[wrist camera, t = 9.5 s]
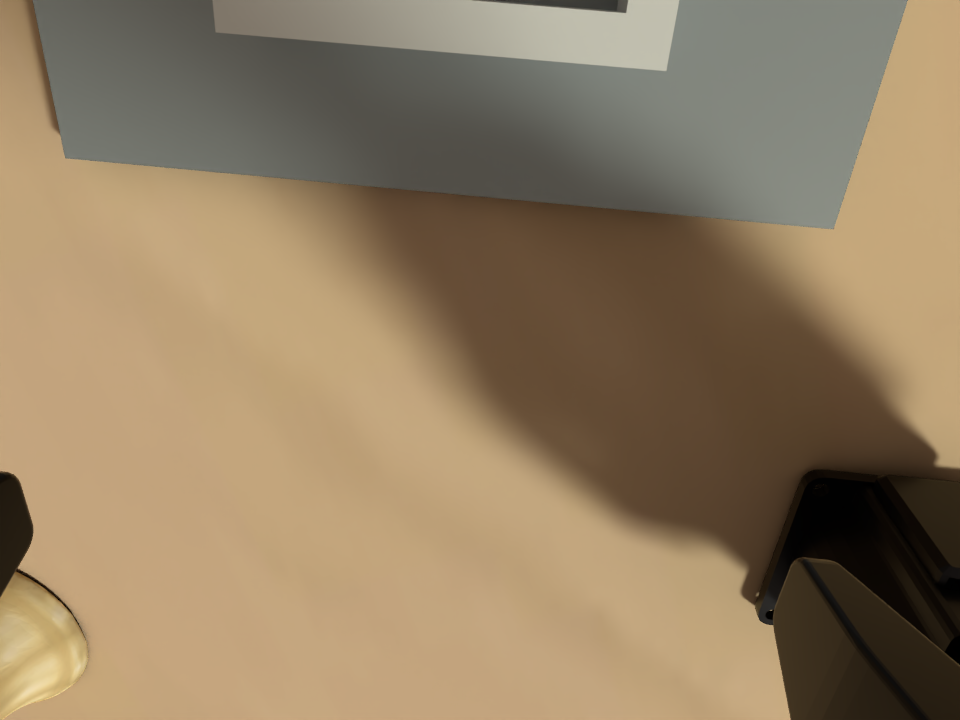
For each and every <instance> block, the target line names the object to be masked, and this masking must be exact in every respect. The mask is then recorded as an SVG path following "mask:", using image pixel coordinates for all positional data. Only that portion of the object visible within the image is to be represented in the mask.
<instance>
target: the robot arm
mask: <svg viewBox="0 0 960 720" xmlns="http://www.w3.org/2000/svg"><path fill="white" fill-rule="evenodd" d="M818 484H824V485H823V486H822V487H820V488H817V489H813V488H814V487H815V486H816V485H818ZM32 537H33V523H32V520H31V517H30V513H29V510H28V507H27V503H26V500H25V497H24V494H23V490H22V487H21V484H20V481H19V480H18V478H17V477H16V476H15V475H14V474H11V473H9V472H2V471H0V598H1V596H2V594H3V592H4V591H5V589H6V587H7V585H8V584H9V582H10V580H11V578H12V577H13V575H14V573H15V571H16V570H17V568H18V566H19V565H20V563H21V561H22V559H23V558H24V556H25V554H26V552H27V551H28V549H29V547H30V544H31V541H32ZM755 609H756V612H757V615H758V618H759V620H760V621H761V622H763V623H765V624H768V625H773V626H774V633H775V639H776V644H777V649H778V654H779V660H780V665H781V670H782V676H783V681H784V686H785V692H786V697H787V702H788V708H789V713H790V718H791V720H960V482H953V481H943V480H934V479H924V478H914V477H905V476H895V475H884V476H878V475H869V474H859V473H849V472H840V471H830V470H813V471H810V472H808V473H807V474H805V475H804V476H803V478H802V479H801V481H800V484H799V486H798V489H797V492H796V495H795V497H794V500H793V503H792V505H791V508H790V511H789V514H788V516H787V519H786V522H785V525H784V527H783V530H782V533H781V536H780V538H779V541H778V544H777V547H776V549H775V552H774V555H773V557H772V560H771V563H770V566H769V568H768V571H767V574H766V577H765V579H764V582H763V585H762V588H761V590H760V593H759V596H758V598H757V601H756V604H755ZM769 610H772V611H769Z"/></svg>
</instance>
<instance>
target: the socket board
mask: <svg viewBox="0 0 960 720" xmlns="http://www.w3.org/2000/svg"><path fill="white" fill-rule="evenodd" d="M907 1H908V0H33V4H34V9H35V14H36V19H37V24H38V29H39V33H40V38H41V43H42V48H43V53H44V58H45V63H46V67H47V72H48V77H49V82H50V87H51V92H52V96H53V101H54V106H55V111H56V116H57V121H58V125H59V130H60V135H61V140H62V145H63V150H64V154H65V158H68V159H79V160H90V161H101V162H112V163H122V164H133V165H144V166H155V167H166V168H176V169H187V170H198V171H209V172H220V173H231V174H241V175H252V176H263V177H274V178H285V179H295V180H306V181H317V182H328V183H339V184H349V185H360V186H371V187H382V188H393V189H403V190H414V191H425V192H436V193H447V194H457V195H468V196H479V197H490V198H501V199H511V200H522V201H533V202H544V203H555V204H565V205H576V206H587V207H598V208H609V209H620V210H630V211H641V212H652V213H663V214H674V215H684V216H695V217H706V218H717V219H728V220H738V221H749V222H760V223H771V224H782V225H792V226H803V227H814V228H825V229H834V226H835V223H836V220H837V217H838V214H839V211H840V208H841V205H842V201H843V198H844V195H845V192H846V189H847V186H848V183H849V180H850V177H851V174H852V171H853V168H854V164H855V161H856V158H857V155H858V152H859V149H860V146H861V143H862V140H863V137H864V134H865V130H866V127H867V124H868V121H869V118H870V115H871V112H872V109H873V106H874V103H875V100H876V97H877V93H878V90H879V87H880V84H881V81H882V78H883V75H884V72H885V69H886V66H887V63H888V60H889V56H890V53H891V50H892V47H893V44H894V41H895V38H896V35H897V32H898V29H899V26H900V22H901V19H902V16H903V13H904V10H905V7H906V4H907Z"/></svg>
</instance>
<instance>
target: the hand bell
mask: <svg viewBox="0 0 960 720" xmlns="http://www.w3.org/2000/svg"><path fill="white" fill-rule="evenodd" d="M87 654H88V648H87V642H86V640H85V637H84V635H83V633H82V631H81V629H80V627H79V625H78V624H77V622H76V621H75V619H74V617H73V615H72V614H71V613H70V612H69V611H68V609H67V608H66V607H65V606H64V605H63V604H62V603H61V602H60V601H59V600H58V599H57V598H56V597H55V596H53V595H52V594H51V593H49V592H48V591H47V590H46V589H44V588H43V587H41V586H40V585H39V584H37V583H36V582H34V581H33V580H31V579H30V578H28V577H26V576H24V575H22V574H20V573H18V572H16V571H15V573H14V575H13V577H12V578H11V580H10V582H9V584H8V585H7V587H6V589H5V591H4V592H3V594H2V596H1V598H0V720H3V719H4V718H6V717H7V716H8V715H10V714H11V713H13V712H14V711H16V710H18V709H19V708H21V707H23V706H25V705H27V704H30V703H36V702H39V701H43V700H46V699H49V698H52V697H54V696H56V695H58V694H60V693H62V692H63V691H65V690H66V689H68V688H69V687H71V686H72V685H73V684H75V683H76V682H77V681H78V679H79V678H80V677H81V675H82V674H83V672H84V670H85V668H86V664H87V661H88V655H87Z"/></svg>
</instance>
